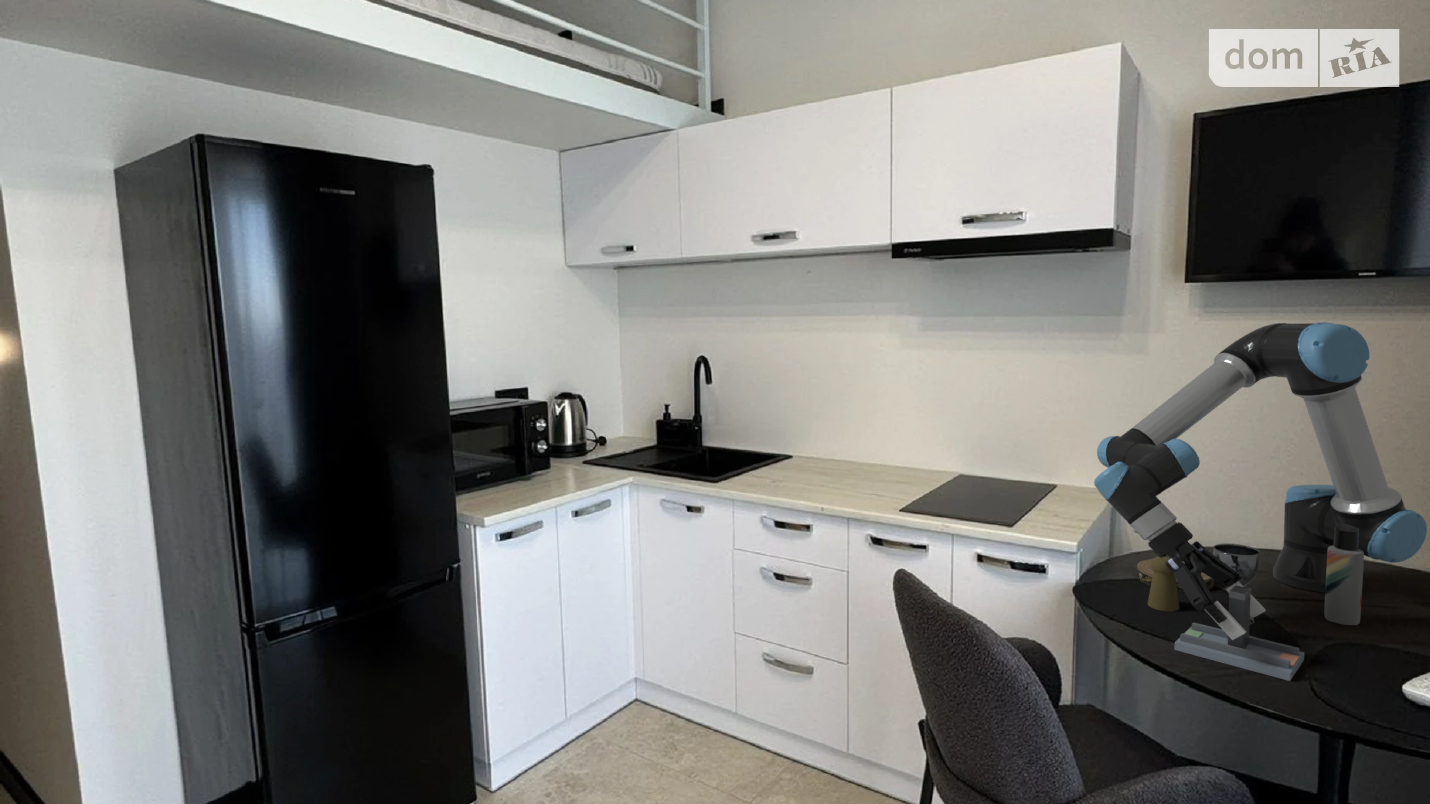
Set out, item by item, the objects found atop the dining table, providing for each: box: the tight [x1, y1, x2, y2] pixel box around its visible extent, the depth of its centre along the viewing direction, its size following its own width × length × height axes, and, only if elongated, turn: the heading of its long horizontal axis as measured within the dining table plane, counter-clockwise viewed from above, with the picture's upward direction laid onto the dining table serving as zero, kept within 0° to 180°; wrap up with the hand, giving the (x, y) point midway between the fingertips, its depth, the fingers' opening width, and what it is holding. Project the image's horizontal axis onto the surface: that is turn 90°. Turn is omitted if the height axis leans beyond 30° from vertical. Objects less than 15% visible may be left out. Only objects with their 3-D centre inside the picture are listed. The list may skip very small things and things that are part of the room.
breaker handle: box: [1228, 585, 1252, 649], centre depth 139 cm, size 2×4×11 cm, turn 131°
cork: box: [1147, 556, 1180, 612], centre depth 163 cm, size 6×6×11 cm
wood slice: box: [1136, 558, 1215, 593], centre depth 179 cm, size 16×16×3 cm
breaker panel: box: [1174, 622, 1305, 682], centre depth 140 cm, size 18×11×3 cm, turn 42°
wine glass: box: [1212, 543, 1261, 626], centre depth 155 cm, size 8×8×15 cm
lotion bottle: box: [1323, 524, 1365, 626], centre depth 152 cm, size 6×6×20 cm
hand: (1249, 624), depth 138 cm, fingers open, 13 cm apart
